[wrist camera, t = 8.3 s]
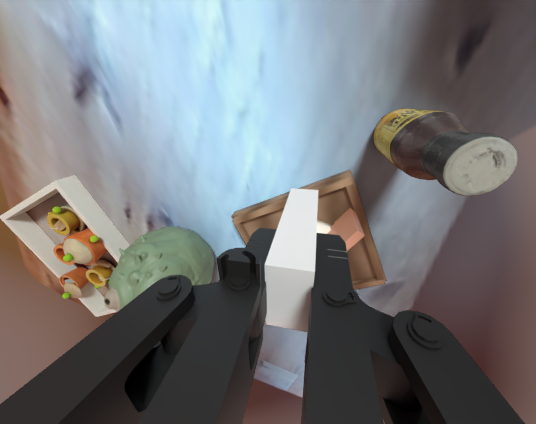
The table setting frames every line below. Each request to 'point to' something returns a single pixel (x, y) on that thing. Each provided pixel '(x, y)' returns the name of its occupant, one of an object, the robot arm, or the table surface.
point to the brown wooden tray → (329, 210)
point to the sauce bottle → (445, 151)
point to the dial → (344, 228)
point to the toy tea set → (78, 252)
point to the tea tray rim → (44, 245)
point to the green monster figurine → (159, 263)
